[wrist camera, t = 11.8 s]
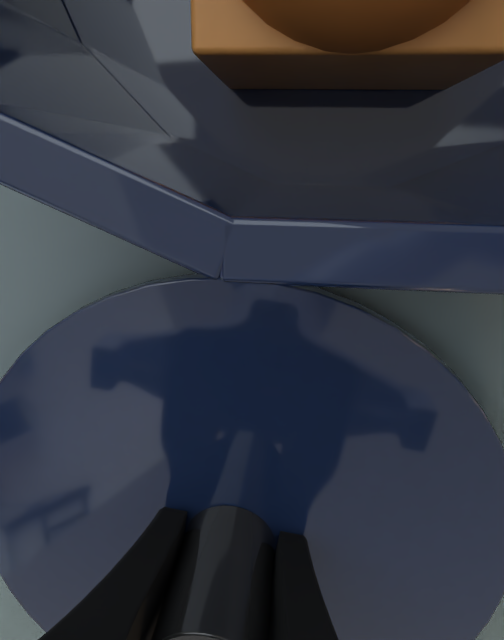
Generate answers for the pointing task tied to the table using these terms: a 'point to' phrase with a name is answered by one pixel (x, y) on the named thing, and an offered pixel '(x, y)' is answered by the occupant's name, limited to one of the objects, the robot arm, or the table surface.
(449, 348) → the table surface
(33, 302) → the table surface
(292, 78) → the bread
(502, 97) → the pot
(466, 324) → the table surface
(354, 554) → the lid
